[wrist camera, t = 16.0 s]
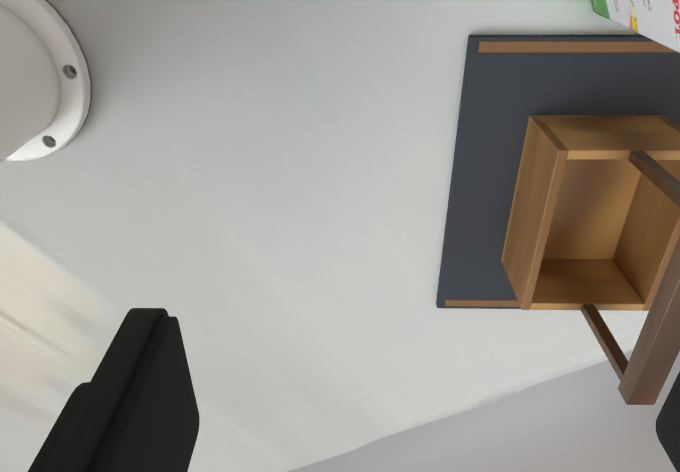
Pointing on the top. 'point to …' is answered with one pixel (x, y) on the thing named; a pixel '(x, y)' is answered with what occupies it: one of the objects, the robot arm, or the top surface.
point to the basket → (602, 233)
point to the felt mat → (510, 129)
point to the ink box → (645, 18)
